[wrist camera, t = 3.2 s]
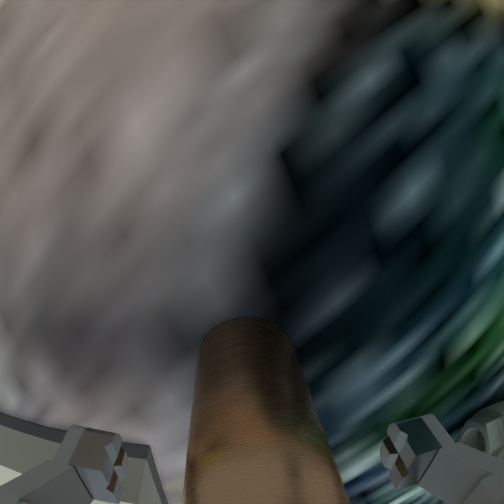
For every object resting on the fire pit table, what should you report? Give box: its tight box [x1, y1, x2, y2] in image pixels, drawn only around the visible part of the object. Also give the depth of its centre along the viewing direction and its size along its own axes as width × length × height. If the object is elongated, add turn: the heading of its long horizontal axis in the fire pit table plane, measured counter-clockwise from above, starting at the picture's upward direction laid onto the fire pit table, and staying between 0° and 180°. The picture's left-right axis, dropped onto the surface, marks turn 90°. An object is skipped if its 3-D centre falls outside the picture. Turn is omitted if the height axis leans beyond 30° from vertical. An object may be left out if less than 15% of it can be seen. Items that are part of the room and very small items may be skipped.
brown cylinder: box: [182, 317, 350, 504], centre depth 8 cm, size 4×4×10 cm
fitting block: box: [0, 413, 167, 504], centre depth 13 cm, size 22×12×4 cm, turn 88°
